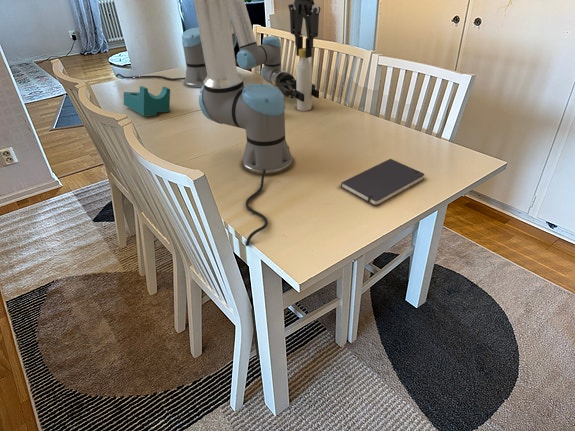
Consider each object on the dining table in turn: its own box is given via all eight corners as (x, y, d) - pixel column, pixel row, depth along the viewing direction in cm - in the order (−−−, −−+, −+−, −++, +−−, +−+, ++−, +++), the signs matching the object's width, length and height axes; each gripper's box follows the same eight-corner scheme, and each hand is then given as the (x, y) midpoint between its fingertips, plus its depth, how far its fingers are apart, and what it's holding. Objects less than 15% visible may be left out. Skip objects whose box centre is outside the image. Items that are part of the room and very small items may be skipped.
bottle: (311, 105, 166) (312, 49, 153) (311, 110, 161) (311, 53, 148) (297, 105, 166) (296, 49, 153) (296, 110, 161) (295, 53, 148)
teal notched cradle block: (169, 115, 164) (170, 89, 159) (143, 115, 156) (144, 88, 152) (148, 104, 174) (148, 79, 170) (123, 104, 167) (123, 78, 163)
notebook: (389, 163, 124) (340, 187, 113) (390, 158, 123) (341, 182, 112) (424, 178, 116) (375, 206, 105) (425, 174, 115) (376, 201, 104)
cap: (311, 56, 151) (311, 49, 149) (302, 57, 149) (302, 51, 148) (306, 53, 154) (306, 47, 152) (296, 55, 152) (296, 48, 151)
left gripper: (302, 85, 178) (331, 101, 162) (263, 93, 171) (289, 110, 155) (302, 68, 174) (331, 82, 157) (262, 75, 167) (288, 91, 150)
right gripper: (330, -15, 135) (327, 57, 149) (293, -18, 145) (294, 50, 159) (315, -13, 131) (314, 62, 144) (278, -16, 141) (281, 54, 154)
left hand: (310, 96), depth 156 cm, fingers closed on bottle, 6 cm apart
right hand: (304, 55), depth 152 cm, fingers open, 4 cm apart
